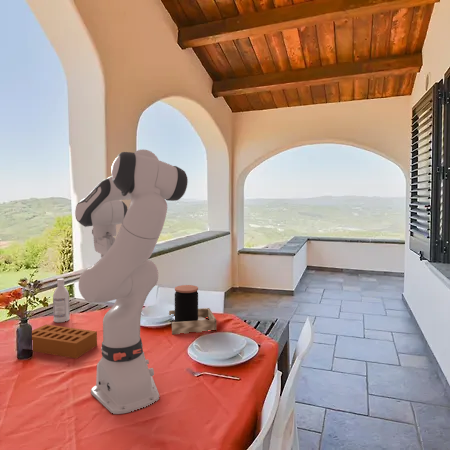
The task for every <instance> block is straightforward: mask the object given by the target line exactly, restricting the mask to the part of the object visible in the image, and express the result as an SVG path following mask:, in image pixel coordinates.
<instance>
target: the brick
mask: <svg viewBox="0 0 450 450" xmlns="http://www.w3.org/2000/svg"><path fill="white" fill-rule="evenodd" d="M31 331H32V340H33V351H32V352H36V353H41V354H47V355H54V356H60V357H65V358H71V359H78V358H79V357H81V356H83V355H84V354H86V353H88V352H90V351H91V350H92V349H94V348H95V347H97V346H98V332H97V331H96V330H88V329H82V328H74V327H67V326H60V325H53V324H44V325H42V326H40V327H37V328H35V329H33V330H31Z"/></svg>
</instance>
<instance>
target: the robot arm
mask: <svg viewBox="0 0 450 450" xmlns="http://www.w3.org/2000/svg"><path fill="white" fill-rule="evenodd" d="M110 173H111V176H108V177H107V178H104V179H103V180H101V181H100V182H98V184H97V185H95V187H93V189H92V190H91V191H90V192H89V193H88V194H87V196H86V197H84V198H82V199H81V200H80V201H79V202H78V203H77V204H76V206H75V210H74V211H75V212H74V214H75V219H76V221H77V222H78V223H79V224H80V225H82V226H83V227H85V228H86V227H92V229H91V234H92V236H93V245H94V247H93V248H94V251H95V252H97V253H98V254H100V257H101V258H100V259H99V260H97V262H95V263H94V264H93V265H92V266H90V267H88V268H86V269H85V270H83V272H82V273H81V274H80V276H79V279H78V290H79V293H80V295H81V297H82V298H83V299H84V300H85V301H86V302H88V303H106V302H107V303H108V302H111V301H115V302H114V304H113V305H112V306H111V307H110V309H109V310H108V311H107V312H106V313H105V315H104V317H103V320H102V342H101V348H100V349H101V358H100V360H99V361H98V363H97V364H96V377H95V378H96V379H95V380H96V381H95V385H94V386H93V387H91V389H90V394H91V395H92V396H93V397H94V399H96V400H97V401H98V402H99V403H100V404H101V405H103V407H104V408H105V409H107V410H108V411H109V412H110V413H111V414H112V413H113V415H122V414H127V413H128V414H129V413H132V412H135V411H134V410H136V411H138V410H137V409H139V410H141V409H140V408H142V409H143V407H144V408H147V407H149V406H151V405H153V404H155V403H156V402H157V401H158V400H159V399H160V398H159V397H160V393H159V390H158V388H157V385H156V383H155V380H154V375H155V371H154V368H153V367H151V368H150V367H148V365H149V363H150V362H149V359H146V357H145V352H144V350H143V349H144V348H143V342H142V337H141V320H142V319H141V317H142V313H143V308H144V304H145V303H146V300H147V297H148V296H149V294H150V293H151V291H152V290H153V288H154V287H155V286H156V285H157V284H158V280H159V270H158V267H157V265H156V264H155V262H154V261H152V260H149V259H150V257H151V256H152V254H153V252H154V250H155V247H156V245H157V242H158V240H159V238H160V236H161V233H162V231H163V227H164V224H165V222H166V221H165V220H166V218H167V213H168V203H167V202H168V201H170V202H171V201H172V202H173V201H175V202H176V201H180V199H181V198H182V197H183V196H184V195H185V194H186V191H187V188H188V183H189V181H188V176H187V173H186V171H185V170H184V169H182V168H180V167H178V166H177V165H172V164H170V163H167V162H165V161H163V160H162V161H161V160H160V159H159V158H158V156H157V155H156V154H155V153H153V152H152V151H151V150H148V149H138V150H136V151H134V152H130V151H122V152H120V153H118V154H117V156H116V158H115V159H114V161H113V163H112V165H111V172H110ZM123 200H124V201H126V200H127V201H128V200H130V204H129V206H127V204H126V202H124V201H123ZM117 225H120V228H119V230H118V233H117ZM115 236H116V238H115ZM155 401H156V402H155ZM154 402H155V403H154ZM152 403H153V404H152ZM150 404H151V405H150ZM148 405H149V406H148ZM146 406H147V407H146ZM131 411H132V412H131Z"/></svg>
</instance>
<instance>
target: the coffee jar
mask: <svg viewBox="0 0 450 450" xmlns="http://www.w3.org/2000/svg"><path fill="white" fill-rule="evenodd" d="M198 290H199V287H198V286H196V285H192V284H182V285H178V286H175V287H174V291H175V292H174V310H175V321H174V322H183V321H197V320H198V309H199V292H198Z"/></svg>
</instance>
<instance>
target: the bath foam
mask: <svg viewBox="0 0 450 450" xmlns="http://www.w3.org/2000/svg"><path fill="white" fill-rule="evenodd" d="M56 281H57V287H56V288H55V290H54V292H53V295H52V313H53V316H52V317H53V322H55V323H57V324H58V323H65V321H66V322H68V321H69V320H70V318H71V314H70V312H71V311H70V294H69V290H68V289H67V287H65V278H63V277H61V278H57V280H56Z"/></svg>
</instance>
